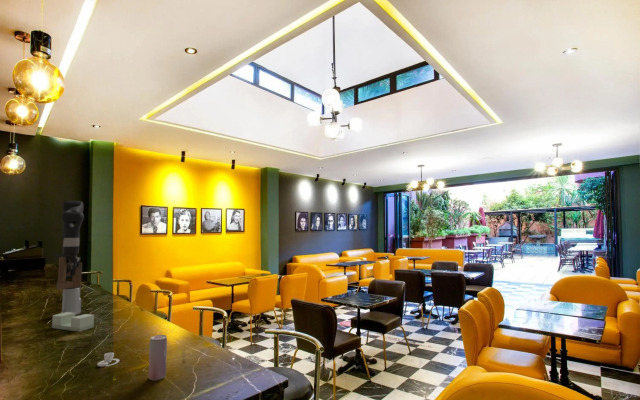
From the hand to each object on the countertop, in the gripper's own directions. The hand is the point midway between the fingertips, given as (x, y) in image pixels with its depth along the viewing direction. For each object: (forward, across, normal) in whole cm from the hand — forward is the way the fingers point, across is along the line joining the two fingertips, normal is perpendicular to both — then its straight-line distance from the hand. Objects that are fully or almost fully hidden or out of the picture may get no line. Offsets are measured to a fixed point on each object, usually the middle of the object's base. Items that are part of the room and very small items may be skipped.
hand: (69, 275), depth 193 cm
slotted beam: (+30, -3, -1) cm, 30 cm away
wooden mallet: (+8, 0, 0) cm, 8 cm away
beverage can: (+31, -100, +32) cm, 109 cm away
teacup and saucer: (+31, -67, +30) cm, 79 cm away
